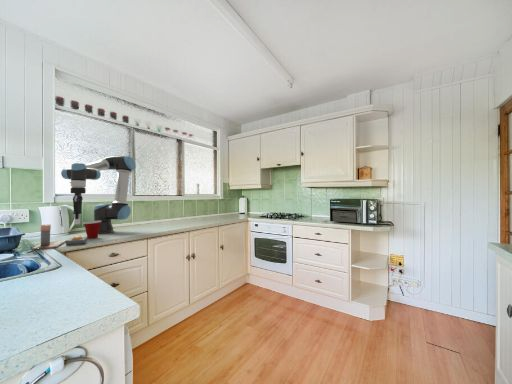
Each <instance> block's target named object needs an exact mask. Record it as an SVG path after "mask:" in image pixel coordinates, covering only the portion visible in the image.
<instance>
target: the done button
mask: <svg viewBox="0 0 512 384" xmlns="http://www.w3.org/2000/svg"><path fill="white" fill-rule="evenodd" d="M82 237H83V236H82V235H81V236H77V235H76V236H72V238H73V240H77V239H82Z"/></svg>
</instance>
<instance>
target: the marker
mask: <svg viewBox="0 0 512 384" xmlns="http://www.w3.org/2000/svg"><path fill="white" fill-rule="evenodd" d="M51 227H52V225H51V224H41V225H40V244H41V246H48V245H50V241H51V229H52V228H51Z"/></svg>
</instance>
